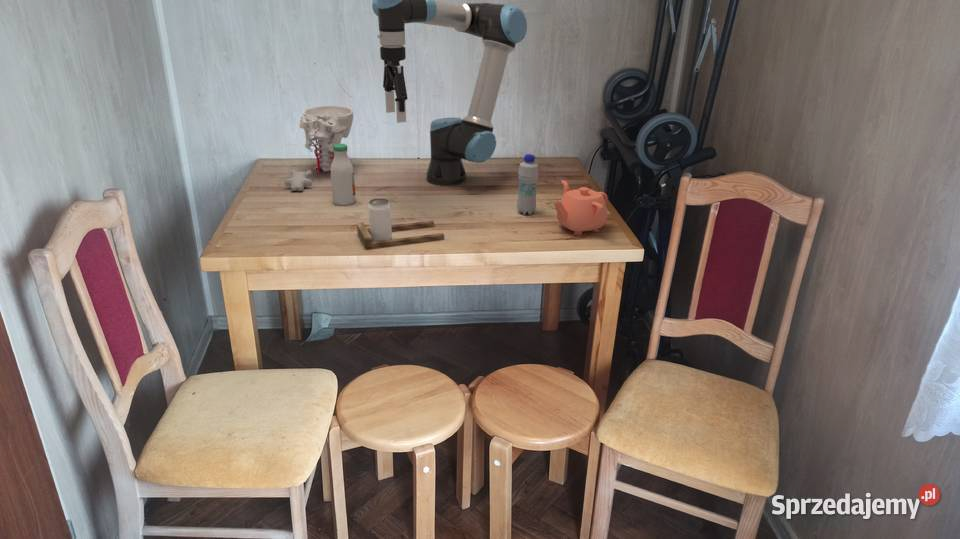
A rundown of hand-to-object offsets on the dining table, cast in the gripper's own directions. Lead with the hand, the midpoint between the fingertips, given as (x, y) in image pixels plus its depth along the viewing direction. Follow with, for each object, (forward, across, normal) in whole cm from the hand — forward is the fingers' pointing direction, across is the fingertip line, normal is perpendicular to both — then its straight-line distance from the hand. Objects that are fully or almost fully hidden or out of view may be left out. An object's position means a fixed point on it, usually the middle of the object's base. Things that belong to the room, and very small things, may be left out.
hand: (395, 117), depth 201 cm
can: (+31, +22, -12) cm, 40 cm away
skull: (+31, -48, -15) cm, 60 cm away
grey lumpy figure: (+31, -35, -28) cm, 55 cm away
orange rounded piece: (+32, +32, +49) cm, 67 cm away
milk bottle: (+31, -14, -16) cm, 38 cm away
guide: (+31, +22, -5) cm, 38 cm away
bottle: (+32, +15, +39) cm, 53 cm away
